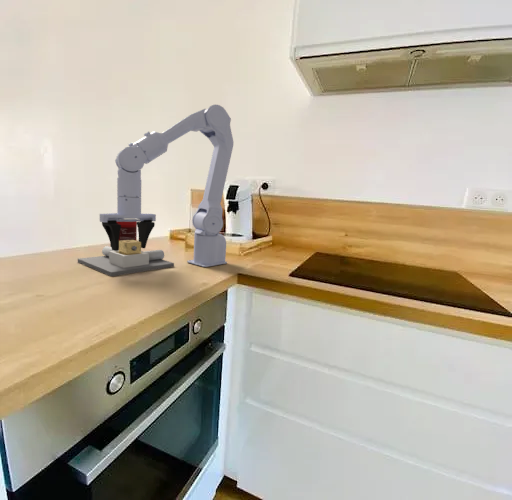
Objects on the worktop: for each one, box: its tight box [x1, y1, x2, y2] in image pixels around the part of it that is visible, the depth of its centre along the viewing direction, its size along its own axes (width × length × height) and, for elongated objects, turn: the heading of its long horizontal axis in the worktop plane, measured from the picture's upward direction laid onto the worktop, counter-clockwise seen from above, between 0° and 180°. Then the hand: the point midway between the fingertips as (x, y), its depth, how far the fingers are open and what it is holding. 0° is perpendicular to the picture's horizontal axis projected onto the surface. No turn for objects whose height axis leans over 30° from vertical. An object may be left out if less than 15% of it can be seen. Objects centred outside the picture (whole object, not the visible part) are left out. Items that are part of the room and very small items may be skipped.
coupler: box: [119, 240, 142, 255], centre depth 84 cm, size 4×5×6 cm
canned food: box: [109, 218, 138, 247], centre depth 102 cm, size 8×8×11 cm
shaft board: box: [77, 245, 175, 277], centre depth 87 cm, size 18×18×4 cm
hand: (129, 248), depth 84 cm, fingers open, 7 cm apart
